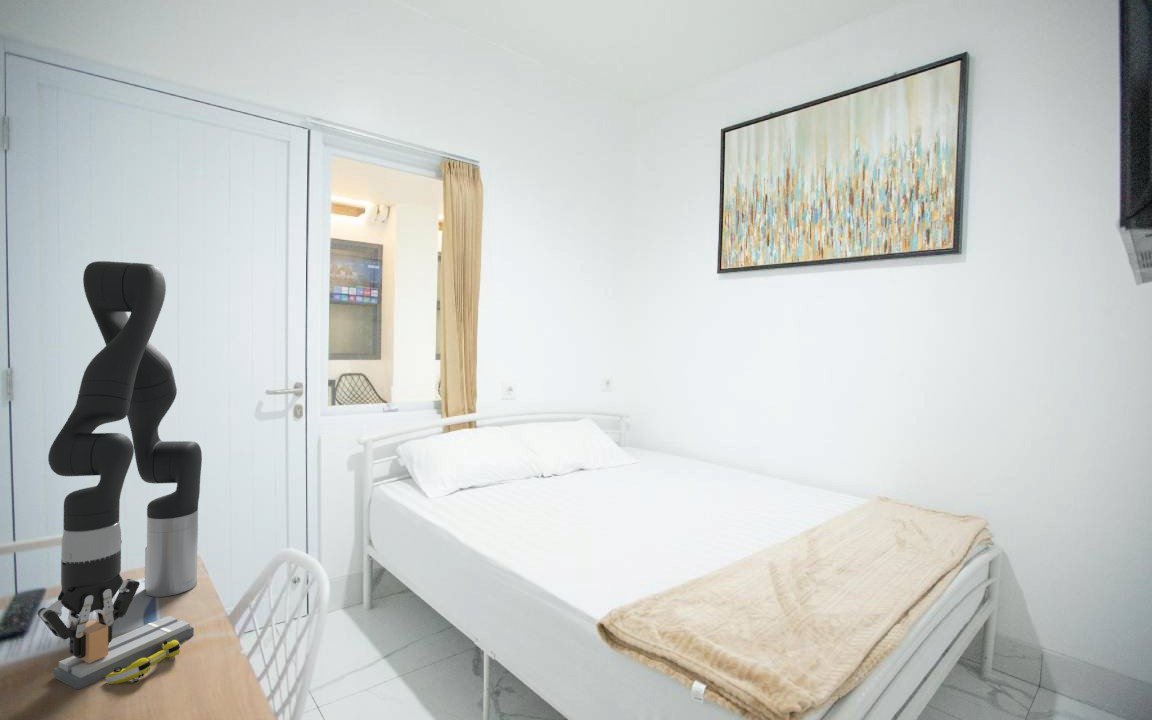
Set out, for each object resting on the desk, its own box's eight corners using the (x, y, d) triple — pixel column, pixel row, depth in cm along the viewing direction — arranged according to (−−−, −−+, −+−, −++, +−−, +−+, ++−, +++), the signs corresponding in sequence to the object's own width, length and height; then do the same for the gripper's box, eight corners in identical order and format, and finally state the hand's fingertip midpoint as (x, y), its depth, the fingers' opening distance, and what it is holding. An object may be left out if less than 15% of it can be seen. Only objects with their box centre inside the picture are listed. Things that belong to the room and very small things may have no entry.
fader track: (77, 689, 87) (77, 673, 87) (53, 677, 90) (54, 662, 90) (193, 635, 104) (193, 621, 104) (170, 626, 107) (170, 613, 106)
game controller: (137, 685, 88) (131, 664, 88) (109, 693, 89) (102, 672, 89) (193, 651, 97) (187, 633, 98) (166, 659, 99) (161, 640, 99)
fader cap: (89, 669, 90) (89, 633, 89) (74, 662, 91) (74, 627, 91) (107, 661, 92) (108, 626, 92) (92, 654, 94) (93, 620, 94)
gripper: (126, 534, 99) (125, 626, 100) (25, 561, 86) (24, 668, 87) (151, 541, 96) (150, 637, 97) (51, 571, 83) (50, 681, 84)
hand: (91, 651), depth 92 cm, fingers closed on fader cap, 2 cm apart
